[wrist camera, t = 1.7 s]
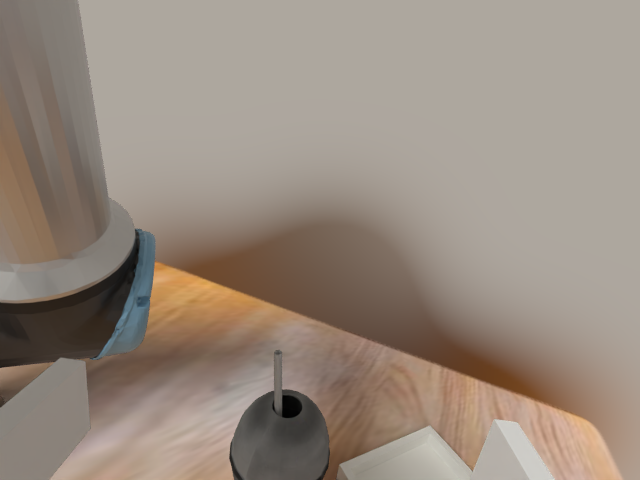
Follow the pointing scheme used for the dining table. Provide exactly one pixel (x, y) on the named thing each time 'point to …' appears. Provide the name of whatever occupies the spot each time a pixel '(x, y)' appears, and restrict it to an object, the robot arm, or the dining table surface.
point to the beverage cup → (280, 437)
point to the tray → (408, 460)
